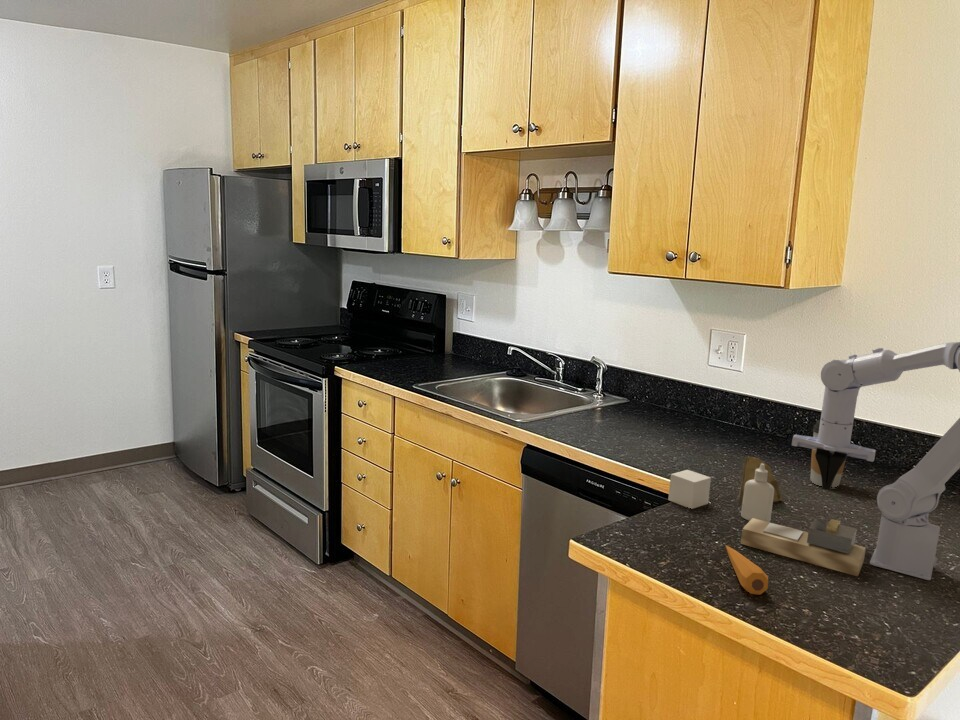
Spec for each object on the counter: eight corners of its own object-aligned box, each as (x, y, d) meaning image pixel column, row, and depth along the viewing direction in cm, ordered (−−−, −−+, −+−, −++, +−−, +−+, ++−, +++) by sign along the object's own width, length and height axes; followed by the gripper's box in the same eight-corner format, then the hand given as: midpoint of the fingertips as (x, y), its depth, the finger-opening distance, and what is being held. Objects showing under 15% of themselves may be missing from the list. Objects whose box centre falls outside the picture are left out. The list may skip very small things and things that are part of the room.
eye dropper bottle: (755, 514, 155) (762, 459, 153) (773, 524, 150) (781, 468, 147) (737, 515, 153) (744, 460, 151) (755, 526, 148) (762, 469, 146)
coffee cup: (848, 485, 177) (857, 425, 175) (836, 493, 171) (846, 430, 169) (812, 476, 183) (821, 417, 180) (800, 483, 177) (808, 422, 174)
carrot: (764, 603, 118) (777, 579, 118) (738, 590, 118) (751, 566, 118) (730, 560, 138) (742, 539, 138) (708, 549, 138) (720, 528, 138)
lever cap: (854, 543, 134) (857, 523, 133) (849, 554, 129) (852, 533, 128) (813, 532, 138) (816, 513, 137) (806, 542, 133) (809, 522, 132)
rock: (779, 484, 168) (734, 474, 169) (793, 463, 161) (746, 452, 163) (780, 525, 161) (733, 514, 162) (794, 505, 154) (746, 493, 155)
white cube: (668, 500, 160) (670, 474, 159) (684, 495, 164) (687, 469, 163) (691, 509, 156) (694, 482, 155) (708, 504, 159) (711, 477, 158)
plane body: (863, 562, 134) (866, 545, 133) (857, 576, 128) (860, 558, 128) (750, 532, 145) (752, 516, 144) (740, 543, 139) (742, 527, 139)
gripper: (792, 417, 143) (783, 484, 146) (876, 432, 135) (864, 502, 138) (800, 411, 149) (791, 475, 151) (880, 425, 141) (869, 493, 143)
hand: (826, 488), depth 145 cm, fingers closed
